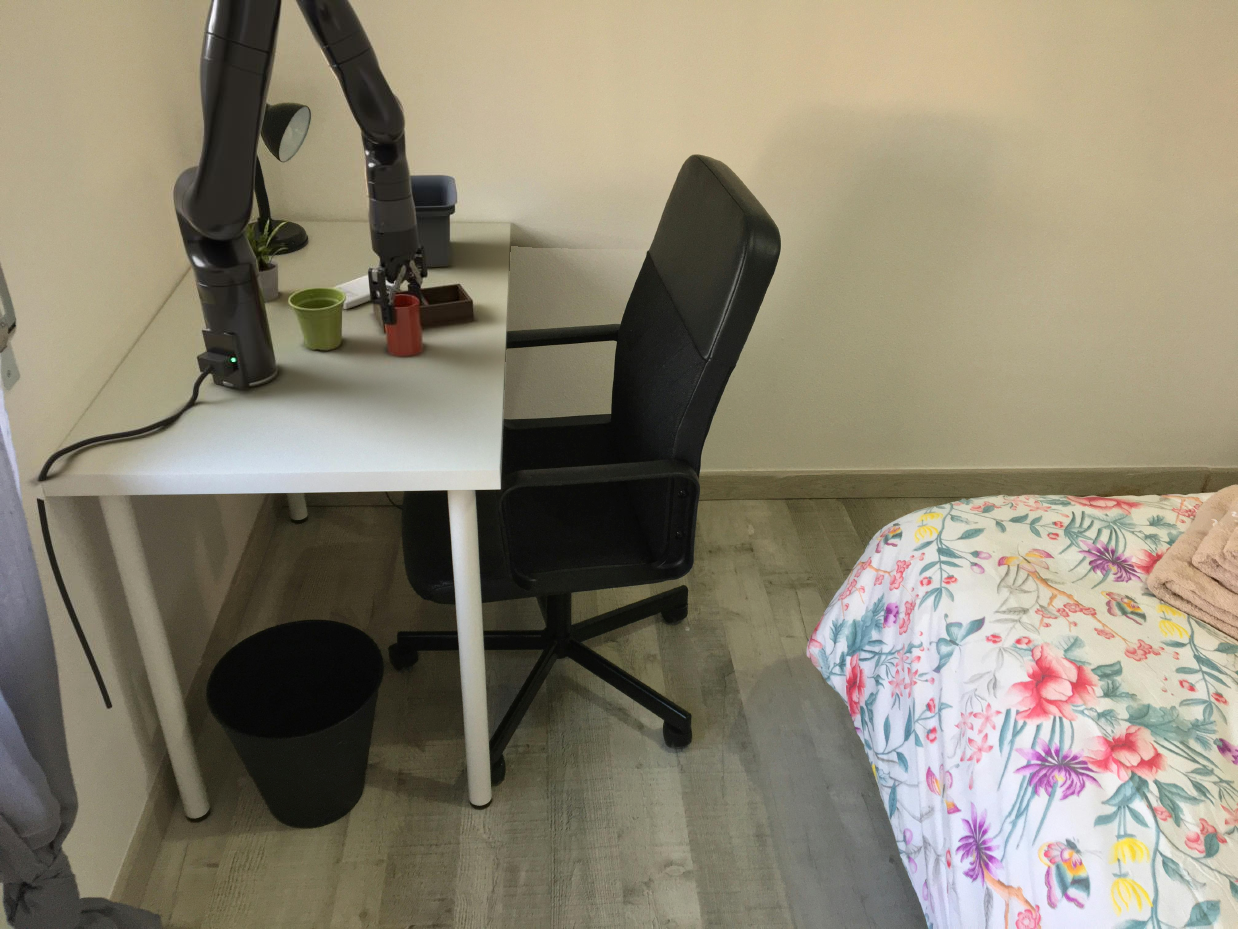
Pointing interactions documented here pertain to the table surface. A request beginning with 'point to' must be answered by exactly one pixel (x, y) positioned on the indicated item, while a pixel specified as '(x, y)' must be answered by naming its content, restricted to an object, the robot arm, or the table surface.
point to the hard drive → (356, 291)
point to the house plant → (265, 261)
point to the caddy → (439, 306)
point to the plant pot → (319, 316)
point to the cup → (405, 327)
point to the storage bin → (434, 215)
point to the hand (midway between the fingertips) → (403, 314)
